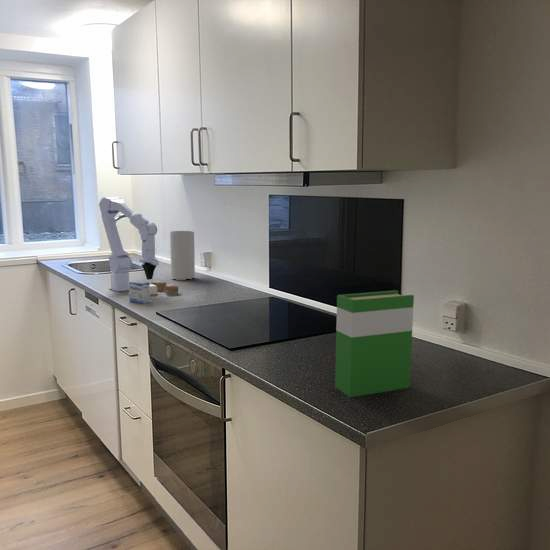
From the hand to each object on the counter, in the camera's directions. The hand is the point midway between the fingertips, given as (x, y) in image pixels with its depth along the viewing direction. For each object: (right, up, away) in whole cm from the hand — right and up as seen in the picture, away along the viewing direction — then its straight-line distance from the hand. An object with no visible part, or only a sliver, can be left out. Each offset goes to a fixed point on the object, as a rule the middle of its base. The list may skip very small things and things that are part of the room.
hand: (149, 279), depth 272 cm
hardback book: (+83, -27, -121) cm, 149 cm away
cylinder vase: (+9, 0, +44) cm, 45 cm away
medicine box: (-1, -10, -17) cm, 20 cm away
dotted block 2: (+10, -7, +2) cm, 12 cm away
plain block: (0, -7, +1) cm, 7 cm away
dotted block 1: (+2, -5, +11) cm, 12 cm away
